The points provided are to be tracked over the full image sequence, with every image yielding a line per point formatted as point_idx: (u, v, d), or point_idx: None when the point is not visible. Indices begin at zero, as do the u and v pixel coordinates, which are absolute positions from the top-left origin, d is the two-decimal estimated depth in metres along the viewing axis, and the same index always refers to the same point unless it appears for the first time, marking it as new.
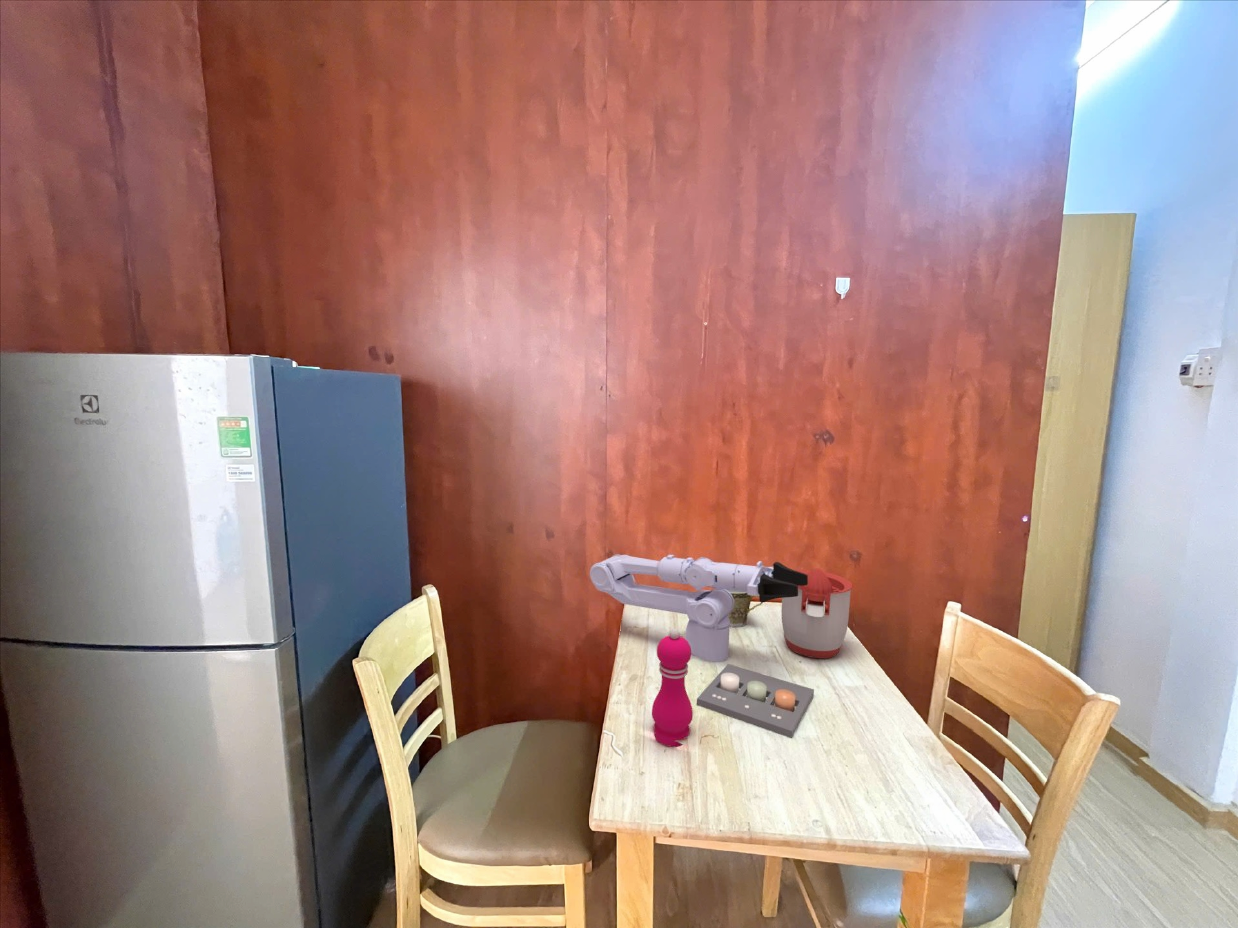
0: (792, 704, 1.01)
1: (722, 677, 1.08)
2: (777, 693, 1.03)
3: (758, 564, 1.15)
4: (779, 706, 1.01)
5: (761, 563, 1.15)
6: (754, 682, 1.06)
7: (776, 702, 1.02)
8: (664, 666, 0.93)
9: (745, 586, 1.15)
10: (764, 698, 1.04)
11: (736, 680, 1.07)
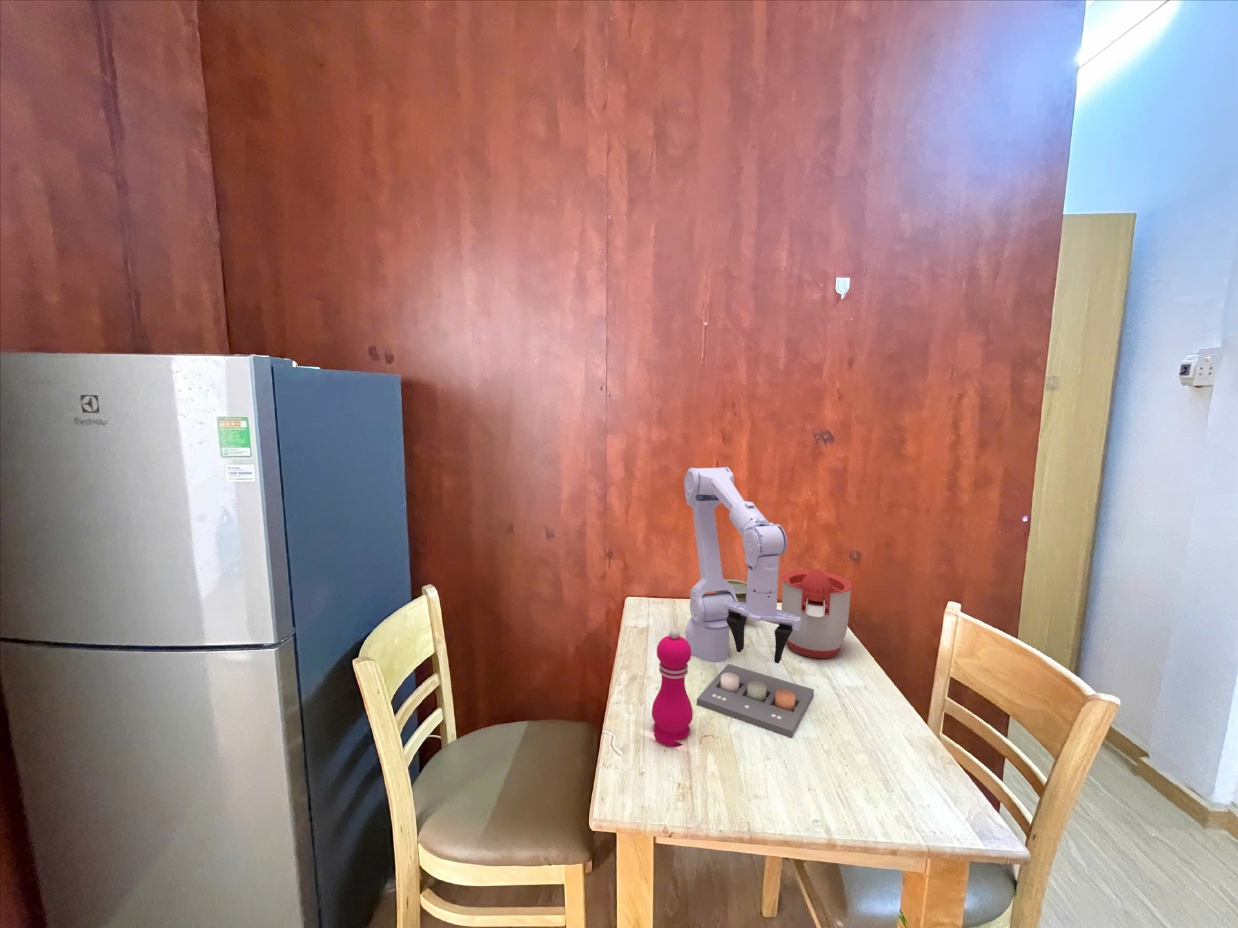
0: (792, 704, 1.01)
1: (722, 677, 1.08)
2: (777, 693, 1.03)
3: (749, 617, 1.01)
4: (779, 706, 1.01)
5: None
6: (754, 682, 1.06)
7: (776, 702, 1.02)
8: (664, 666, 0.93)
9: None
10: (764, 698, 1.04)
11: (736, 680, 1.07)
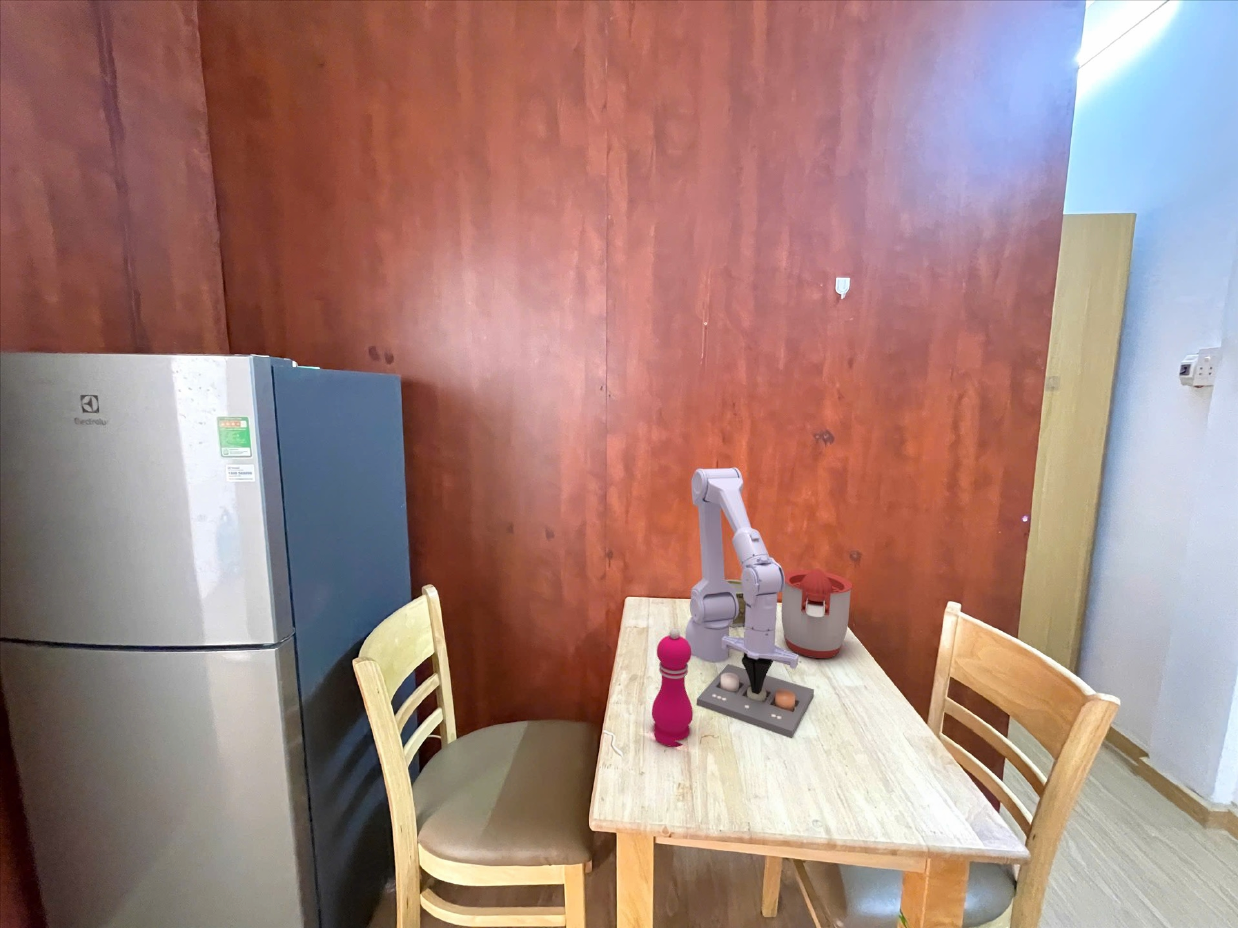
0: (792, 704, 1.01)
1: (722, 677, 1.08)
2: (777, 693, 1.03)
3: (747, 654, 1.02)
4: (779, 706, 1.01)
5: None
6: None
7: (776, 702, 1.02)
8: (664, 666, 0.93)
9: None
10: None
11: (736, 680, 1.07)
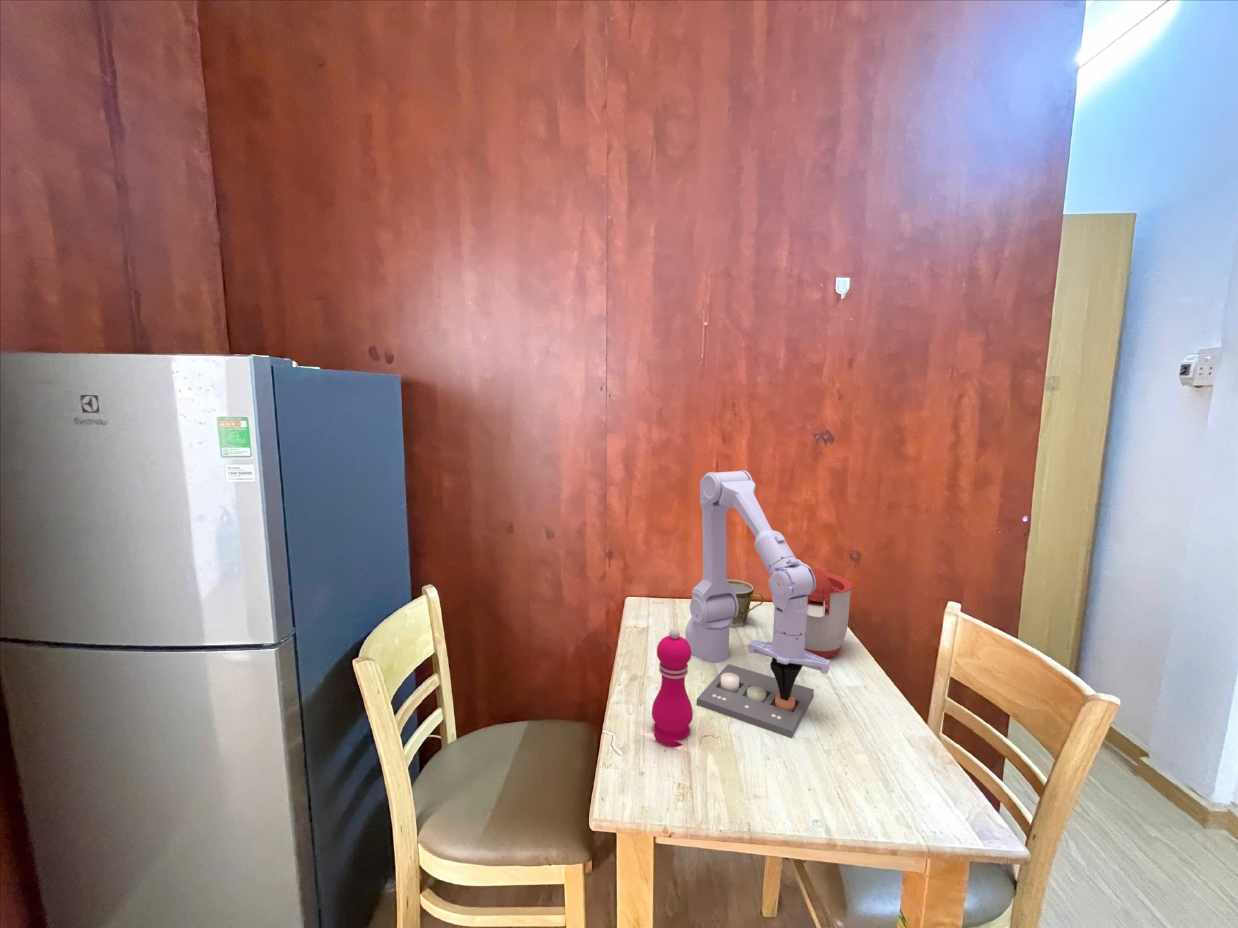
0: (792, 707, 1.01)
1: (722, 677, 1.08)
2: (777, 696, 1.03)
3: (776, 659, 0.99)
4: None
5: None
6: (754, 687, 1.07)
7: (776, 705, 1.02)
8: (664, 666, 0.93)
9: None
10: None
11: (736, 680, 1.07)
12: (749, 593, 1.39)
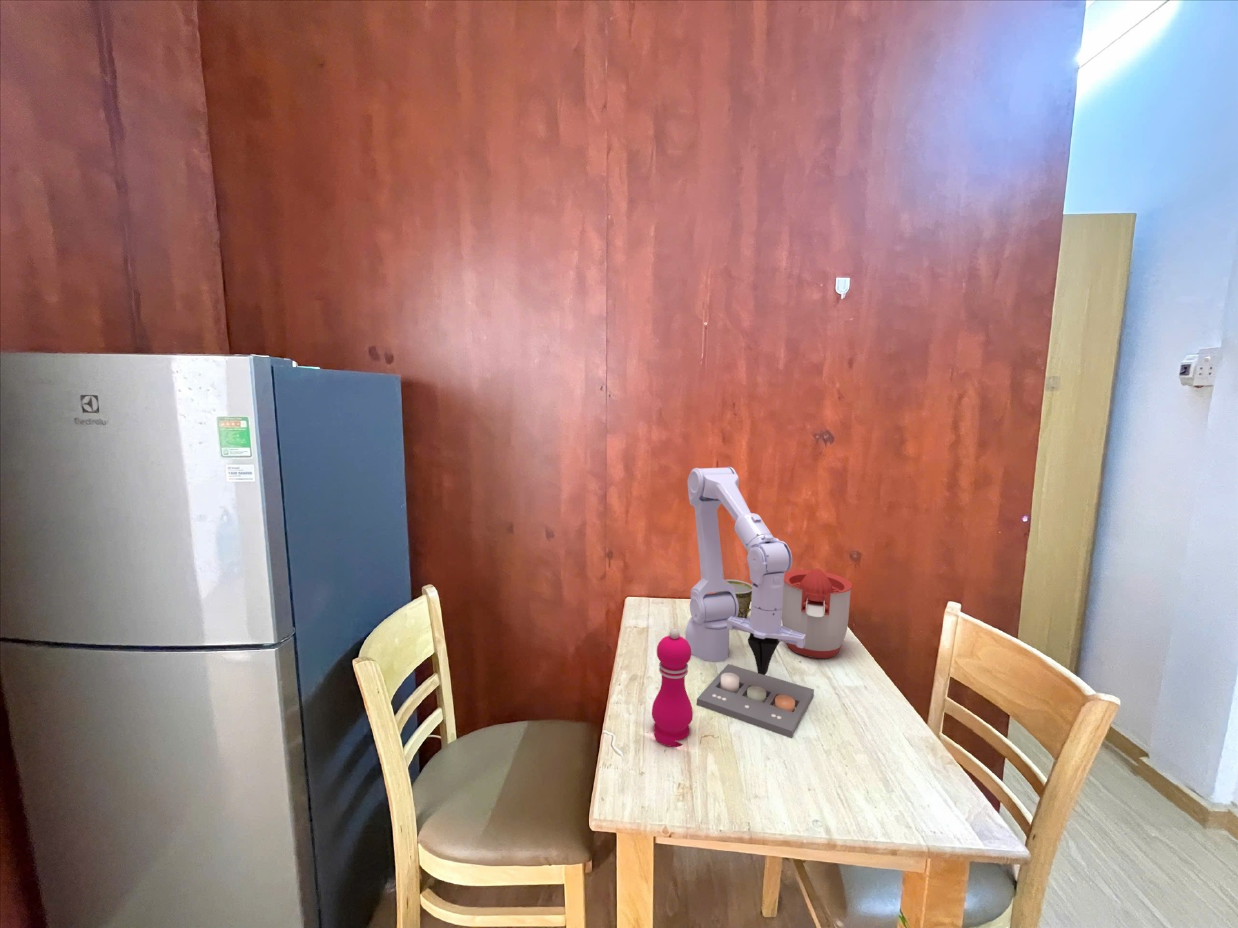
0: (792, 710, 1.01)
1: (722, 677, 1.08)
2: (777, 699, 1.03)
3: (754, 634, 1.01)
4: None
5: None
6: (754, 687, 1.07)
7: None
8: (664, 666, 0.93)
9: None
10: None
11: (736, 680, 1.07)
12: (749, 593, 1.39)
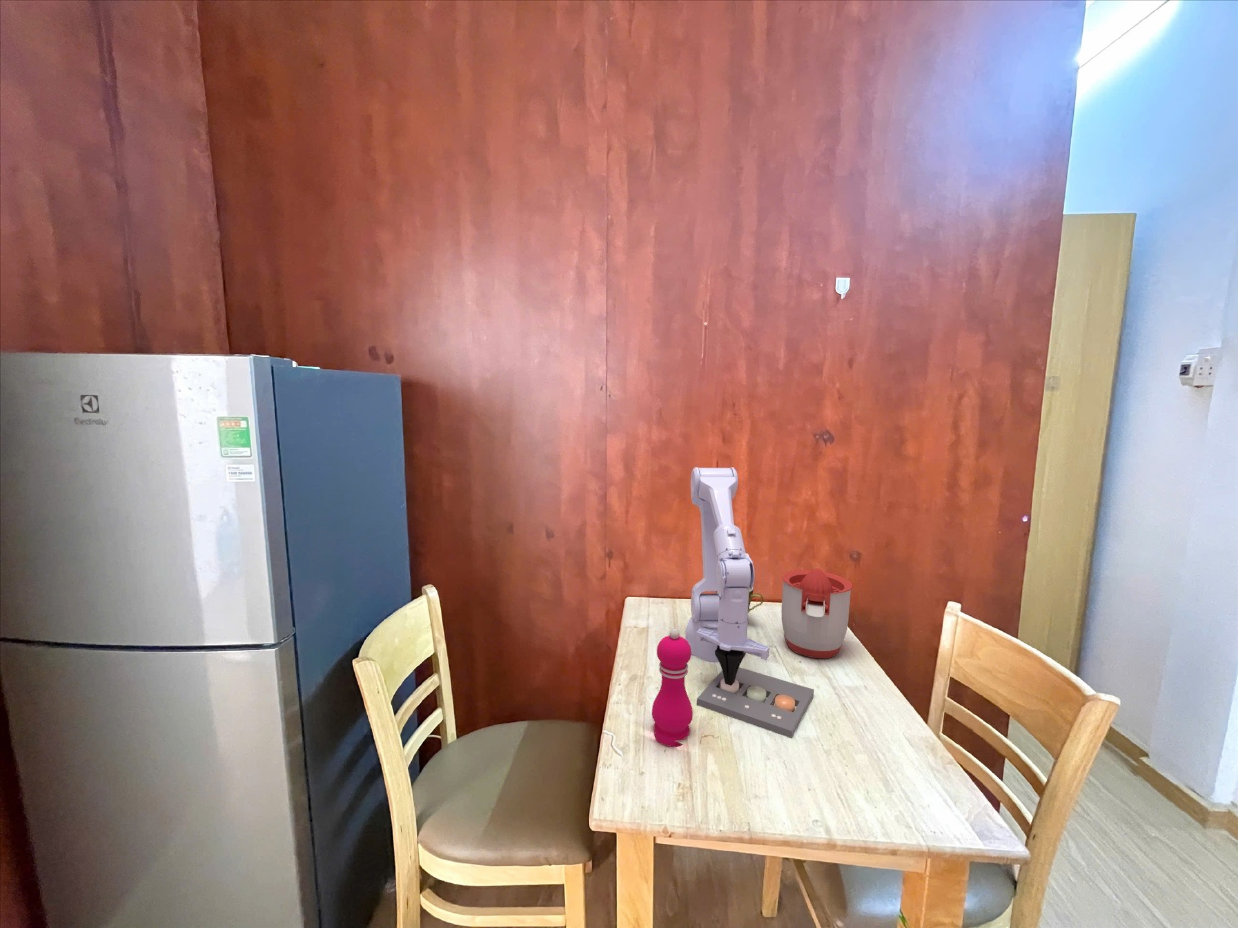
0: (792, 710, 1.01)
1: (722, 682, 1.08)
2: (777, 699, 1.03)
3: (720, 646, 1.05)
4: None
5: None
6: (754, 687, 1.07)
7: None
8: (664, 666, 0.93)
9: None
10: None
11: (736, 685, 1.07)
12: (749, 593, 1.39)
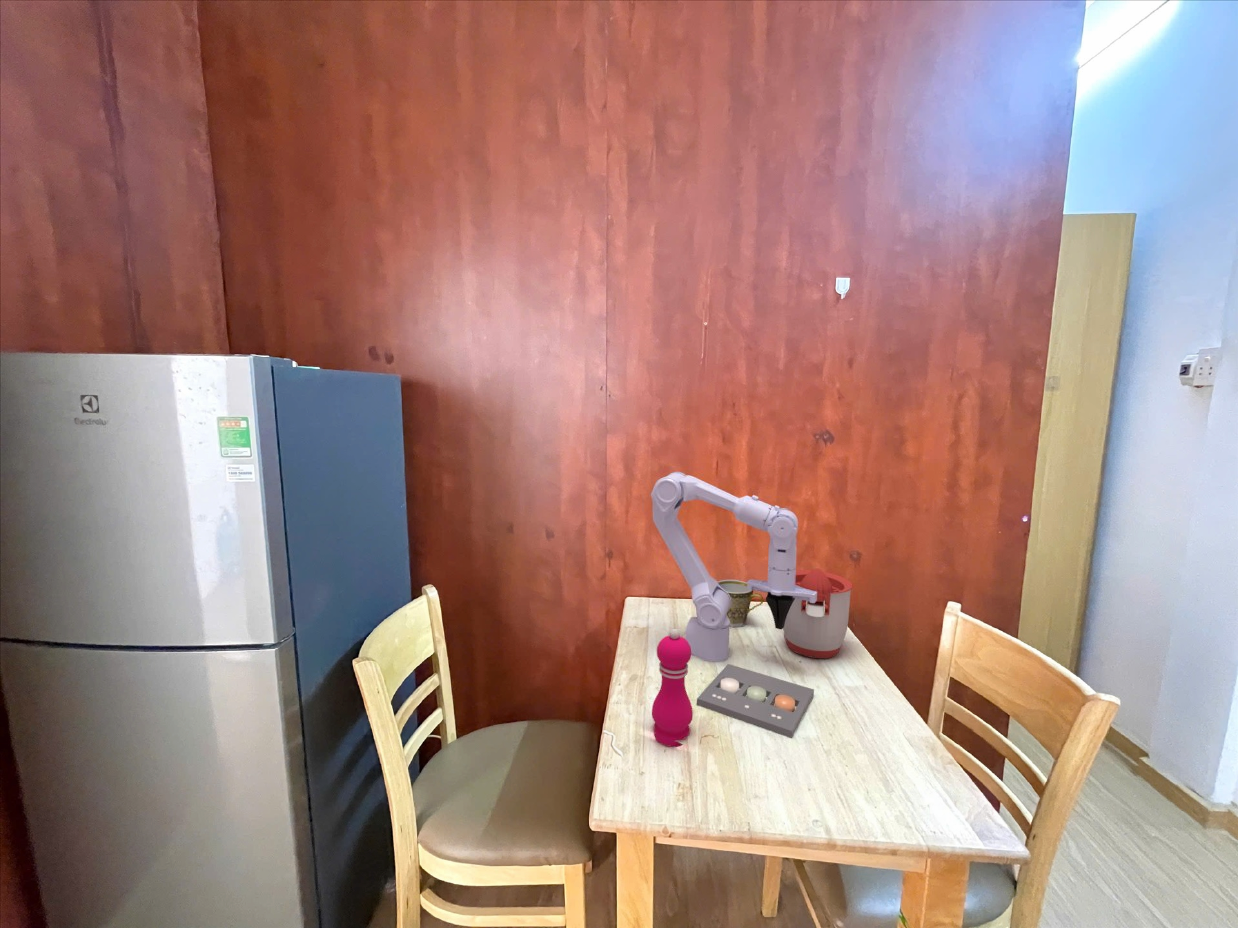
0: (792, 710, 1.01)
1: (722, 682, 1.08)
2: (777, 699, 1.03)
3: (771, 592, 1.14)
4: None
5: None
6: (754, 687, 1.07)
7: None
8: (664, 666, 0.93)
9: None
10: None
11: (736, 685, 1.07)
12: (749, 593, 1.39)
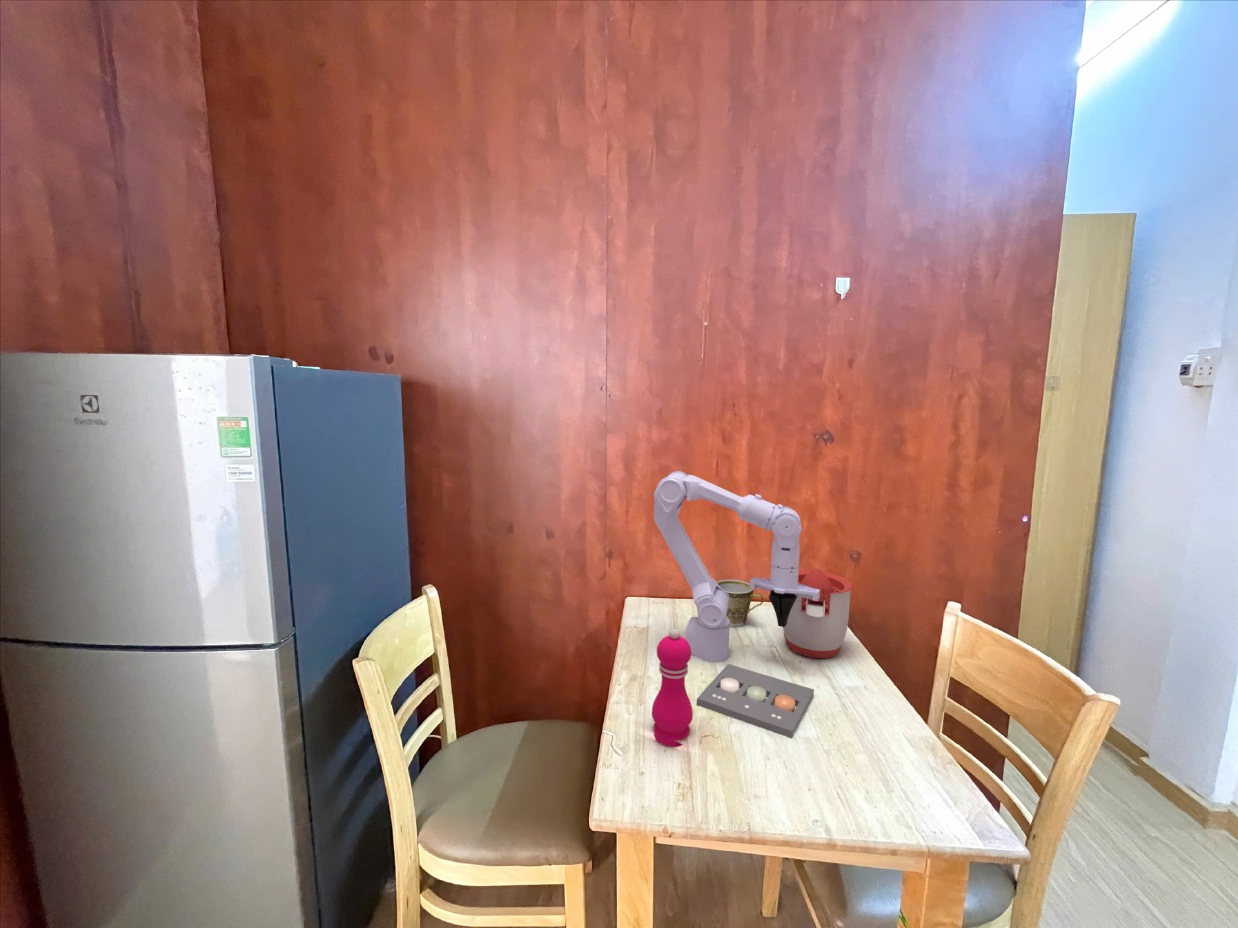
0: (792, 710, 1.01)
1: (722, 682, 1.08)
2: (777, 699, 1.03)
3: (774, 590, 1.15)
4: None
5: None
6: (754, 687, 1.07)
7: None
8: (664, 666, 0.93)
9: None
10: None
11: (736, 685, 1.07)
12: (749, 593, 1.39)
